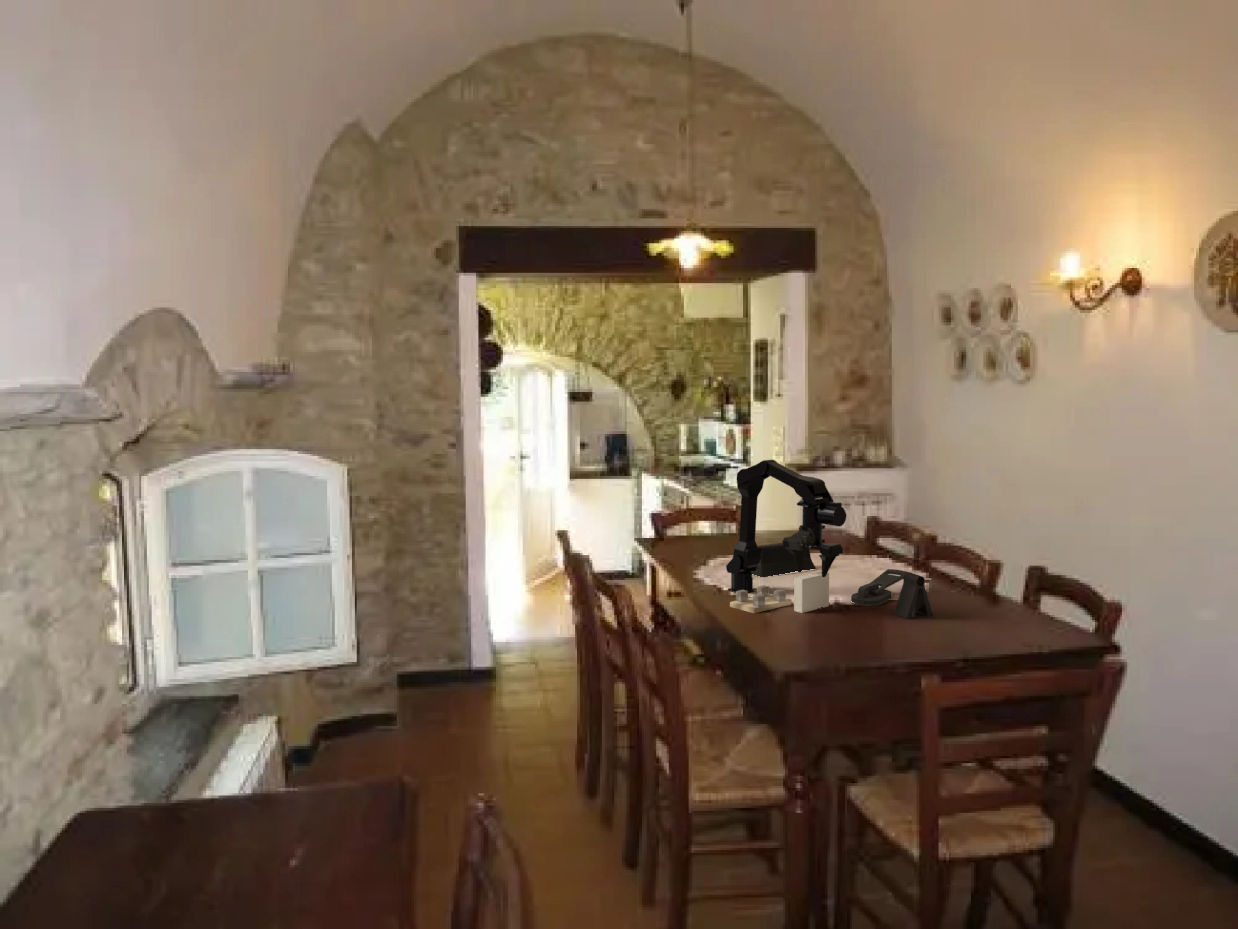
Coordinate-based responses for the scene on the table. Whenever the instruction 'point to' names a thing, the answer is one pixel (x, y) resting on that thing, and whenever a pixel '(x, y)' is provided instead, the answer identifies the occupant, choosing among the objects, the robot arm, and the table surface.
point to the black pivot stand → (913, 598)
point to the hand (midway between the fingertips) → (811, 574)
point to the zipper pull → (877, 589)
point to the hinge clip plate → (762, 608)
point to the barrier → (779, 561)
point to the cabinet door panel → (811, 592)
